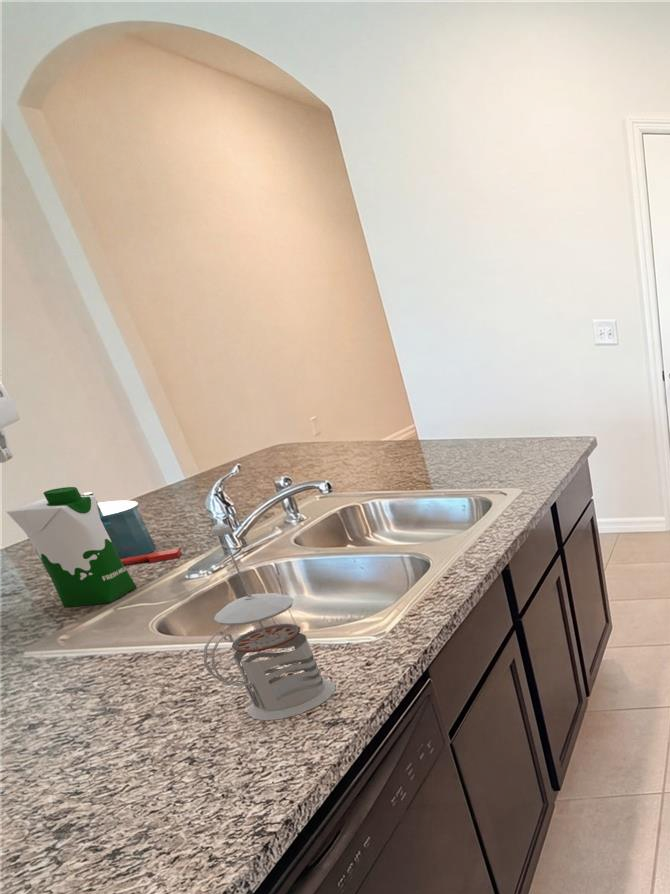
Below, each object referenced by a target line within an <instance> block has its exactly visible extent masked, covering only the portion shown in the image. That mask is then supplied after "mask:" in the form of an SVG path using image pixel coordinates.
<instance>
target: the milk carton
mask: <svg viewBox="0 0 670 894" xmlns="http://www.w3.org/2000/svg"><path fill="white" fill-rule="evenodd" d="M80 494H81V493H80V492H79V489H78V488H77V487H76V486H66V487H58V488H52V489H49V490H45V491H44V492H43V495H44V497H45V498H41V499H38V500H36V501H33V502H32V501H31V502H29V503H27V504H24V505H21V506H18V507H16V508H15V507H14V508H13V509H10V510H7V511H6V514H8V516H9V517H10V518H11V519H12V520H13V521H14V522H15V523H16V524H17V525H18V526H19V527H20V529H22V531H24V533H25V535H26V536H27V539H28V540H29V542H30V544H31V545H32V547H33V549H34V551H35V553H36V555H37V556H38V558H39V560H40V561H41V563H42V565H43V567H44V569H45V571H46V572H47V574H48V575H49V578H50V579H51V582H52V584H53V586H54V588H55V590H56V593H57V595H58V597H59V599H60V601H61V604H62V606H63V608H70V607H80V606H82V607H83V606H93V605H103V604H111V603H113V602H115V601H116V600H118V599H119V597H120V598H122V597H123V596H125V595H127V594H128V593H130V592H131V591H134V590H135V589H136V588H138V586H137V585H136V583H135V581H134V580H133V578H132V577H131V575H130V573H129V572H128V570H127V569H126V567H125V565H123V563H122V561H121V559H120V557H119V555H118V553H117V551H116V550H115V548H114V546H113V544H112V542H111V540H110V538H109V536H108V534H107V532H106V530H105V528H104V526H103V524H102V522H101V519H100V515H99V511H98V507H97V503H98V501H97V498H96V496H95V495H94V494H93V495H89V496H81V495H80ZM96 501H97V502H96ZM129 591H130V592H129ZM124 594H125V595H124Z"/></svg>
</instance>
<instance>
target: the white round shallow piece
mask: <svg viewBox="0 0 670 894" xmlns="http://www.w3.org/2000/svg"><path fill="white" fill-rule="evenodd" d="M80 495H81V496H89V495H94V493H93V492H82V493H80ZM96 502H97V507H98V511H99V515H100V519H103V518H108V517H112V516H116V515H120V514H123V513H126V512H129V511H132V510H134V509H136V508H137V509H138V508H139V506H140V504H139V502H137V501H135V500H111V501H103V502H98V500H96Z"/></svg>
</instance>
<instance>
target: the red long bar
mask: <svg viewBox="0 0 670 894" xmlns="http://www.w3.org/2000/svg"><path fill="white" fill-rule="evenodd" d="M181 555H182V551H181V549H180V547H177V548H171V549H167V550H166V549H165V550H159V551H153V552H151V553H149V554H146V555H141V556H135V557H129V558H123V559H121V561H122V563H123V565H124V566H129V565H134V564H140V563H146V562H149V563H157V562H163V561H167V560H168V561H169V560H175V559H180V558H181Z"/></svg>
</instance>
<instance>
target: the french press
mask: <svg viewBox="0 0 670 894" xmlns="http://www.w3.org/2000/svg"><path fill="white" fill-rule="evenodd" d="M210 531H211V534H212V536H214V537H221V536H222V538H223V540H224V543H225V545H226V547H227V548H226V549H227V550H228V552H229V555H230V557H231V559H232V562H233V564H234V566H235V569H236V571H237V573H238V576H239V579H240V580H241V583H242V586H243V588H244V590H245V593H246V594H247V595H246V596H243V597H240V598H237V599H234V600H233V601H231V602H229V603H227V604H225V606H224V607H223V608H221V609H220V610H219V611H218V612H217V613H216V614H215V615H214V617H213V620H214V621H215V622H216V623H217V624H219V625H220V626H227V627H235V626H244V625H250V624H254V623H259V625H260V627H259V628H256V629H253V630H249V631H248V632H245V633H243V634H242V635H240V636H239V637H237V638H236V639H235V640H234V638H233V636H232V634H231V633H224V632H223V631H215V633H213V635H211V637H209V639H208V640H207V641H206V643H205V645H204V647H203V648H204V649H203V656H202V657H203V663H204V666H205V668H206V669H207V672H208V673H209V674H210V675H211V676H212V677H213V678H215V679H216V680H218V681H220V682H222V683H226V684H227V685H232V686H236V687H241V686H244V687H245V690H246V691H247V694H248V696H249V698H250V700H251V704H250V705H249V707H248V712H247V714H248V716H250V717H251V718H252V719H254V720H258V721H259V720H260V721H266V722H267V721H274V720H282V719H283V720H284V719H287V718H291V717H293V716H298V715H300V714H302V713H305V712H308V711H310V710H312V709H314V708H316V707H318V706H320V705H321V704H323V703H324V702H326V701H328V700H329V699H330V697H331V696H332V695H333V694H334V693H335V692H336V684H335V683H334V682H333V681H331V680H329V679H326V678H323V676H322V673H321V671H320V668H319V665H318V664H317V661H316V658H315V656H314V654H313V653H314V652H313V651H312V648H311V645H310V644H309V641H308V638H307V636H306V634H304V633H300V632H301V627H300V626H299V625H297V624H293V623H280V624H279V623H277V624H276V623H274V624H272V625H268V626H267V625H266V626H264V625H263V623H262V621H266V620H269V619H272V618H275V617H277V616H279V615H280V614H283V613H285V612H287V611H288V610H290V609H291V608H292V606H293V603H294V597H291V596H290V595H287V594H282V593H277V592H264V593H252V594H250V592H249V589H248V588H247V585H246V583H245V581H244V579H243V575H242V574H241V571H240V568H239V566H238V564H237V561H236V559H235V557H234V555H233V554H234V553H233V552H232V550H231V547H230V545H229V543H228V541H227V538H226V536H225V535H230V534H232V533H234V532H233V531H234V530H233V529H232V528H231V526H230V525H228V524H226V523H218V524H215V525H214V526H212V527H211V529H210ZM219 634H220V635H221V637H220V638H219V639H218V640H217V641H216V642H215V643H214V645H213V648H212V650H211V666H212V668H213V670H212V668H211V666H210V664H209V663H208V658H207V657H208V656H207V654H208V648H209V646H210V643H211V641H212V640H213V639H214V638H215V637H216V636H217V635H219ZM227 637H228V638H229V639H228V638H227ZM222 640H224V641H226V642H227V643H232V645H231V648H232V649H233V650H234V651H235V652H234V654H233V659H234V662H235V664H236V666H237V668H238V671H239V673H240V675H241V678H242V680H241V679H240V680H228V679H226V678H225V677H224V676H223V675H221V673H220V672H219V671H218V668H217V666H216V663H215V652H216V650H217V648H218V646H219V644H220V642H221V641H222ZM292 647H294V649H293V650H290V651H281V652H263V651H267V650H275V649H276V650H277V649H287V648H292ZM247 653H254V654H251V655H249V656H248V657H246V659H245V660H244V661H242V660H243V658H244V657H245V655H247ZM260 658H268V659H263V660H257V659H260ZM253 660H255V661H253ZM256 660H257V661H256ZM287 665H289V666H287ZM277 666H284V667H282V668H275V667H277ZM213 671H214V672H215V673H214V672H213ZM301 671H304V672H301ZM289 673H290V674H289ZM291 673H294V674H291ZM283 674H289V675H285V676H281V675H283Z"/></svg>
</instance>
